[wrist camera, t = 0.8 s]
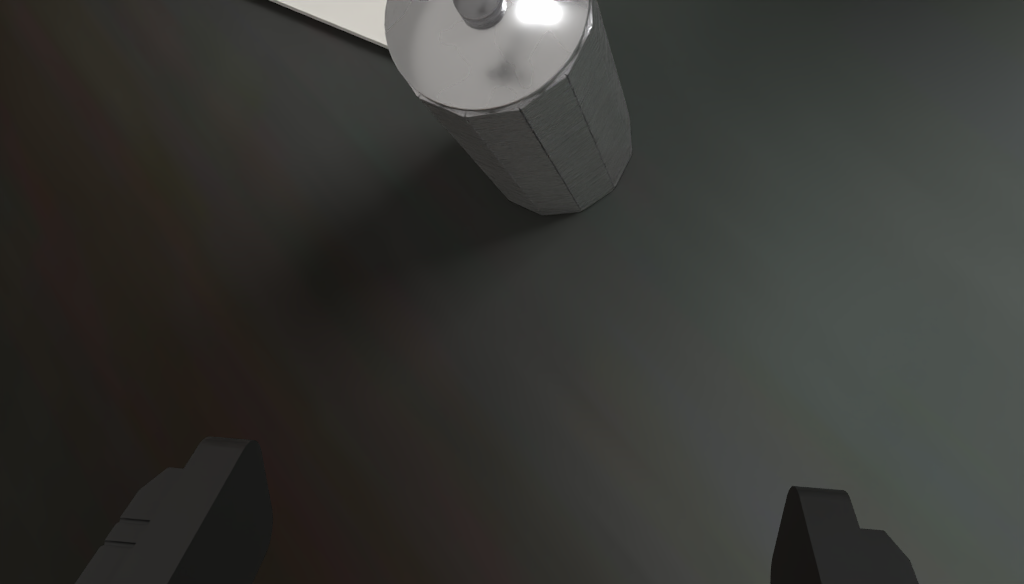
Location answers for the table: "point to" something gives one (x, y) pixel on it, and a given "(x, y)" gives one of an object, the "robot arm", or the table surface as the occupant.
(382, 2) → the white mat
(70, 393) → the table surface
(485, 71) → the faceted metal canister
